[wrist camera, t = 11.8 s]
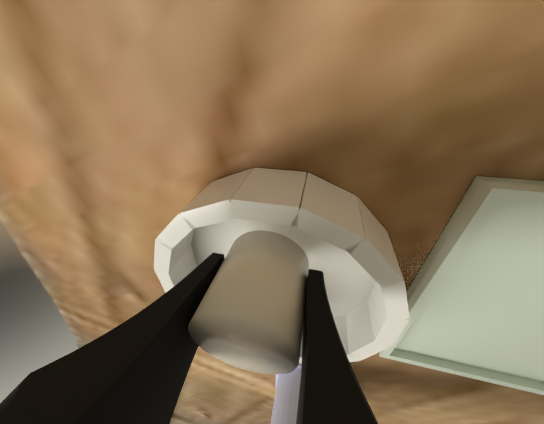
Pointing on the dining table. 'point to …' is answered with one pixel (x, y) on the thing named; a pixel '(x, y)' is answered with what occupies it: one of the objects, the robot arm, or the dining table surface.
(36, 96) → the dining table surface
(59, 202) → the dining table surface
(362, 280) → the bowl
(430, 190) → the dining table surface
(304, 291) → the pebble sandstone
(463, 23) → the dining table surface
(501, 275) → the parts tray
